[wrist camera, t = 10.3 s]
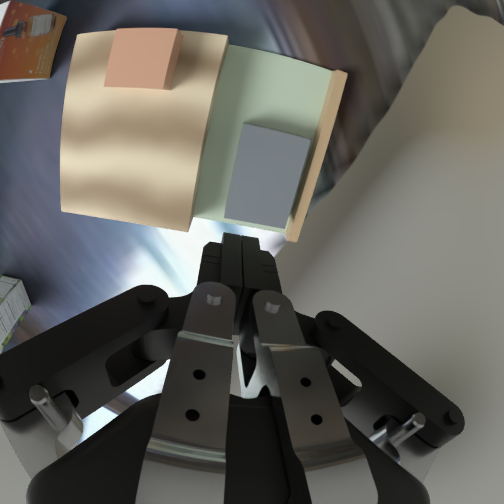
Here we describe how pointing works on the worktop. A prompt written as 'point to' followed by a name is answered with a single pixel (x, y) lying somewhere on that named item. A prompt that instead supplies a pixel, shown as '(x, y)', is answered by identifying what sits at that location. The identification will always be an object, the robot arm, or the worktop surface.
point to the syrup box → (11, 307)
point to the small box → (27, 41)
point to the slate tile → (265, 175)
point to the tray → (267, 124)
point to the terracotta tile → (143, 58)
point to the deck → (137, 135)
